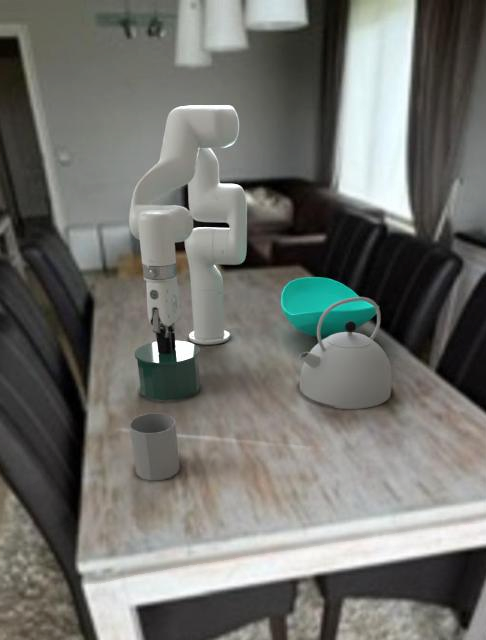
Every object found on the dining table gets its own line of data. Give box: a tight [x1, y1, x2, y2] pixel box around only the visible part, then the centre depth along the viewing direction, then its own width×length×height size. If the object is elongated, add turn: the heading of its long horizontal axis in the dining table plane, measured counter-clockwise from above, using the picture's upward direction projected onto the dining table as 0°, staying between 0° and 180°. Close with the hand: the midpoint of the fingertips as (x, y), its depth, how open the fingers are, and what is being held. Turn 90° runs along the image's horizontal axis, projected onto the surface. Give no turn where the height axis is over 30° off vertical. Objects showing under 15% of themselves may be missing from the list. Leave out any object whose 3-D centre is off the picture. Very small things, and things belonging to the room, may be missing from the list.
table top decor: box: [280, 276, 380, 340], centre depth 173 cm, size 40×28×13 cm
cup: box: [129, 412, 180, 481], centre depth 107 cm, size 8×8×10 cm
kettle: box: [299, 296, 393, 410], centre depth 135 cm, size 25×23×22 cm
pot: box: [136, 355, 201, 401], centre depth 140 cm, size 15×15×10 cm
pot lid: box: [134, 329, 201, 365], centre depth 136 cm, size 16×16×6 cm
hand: (167, 350), depth 137 cm, fingers closed on pot lid, 2 cm apart
